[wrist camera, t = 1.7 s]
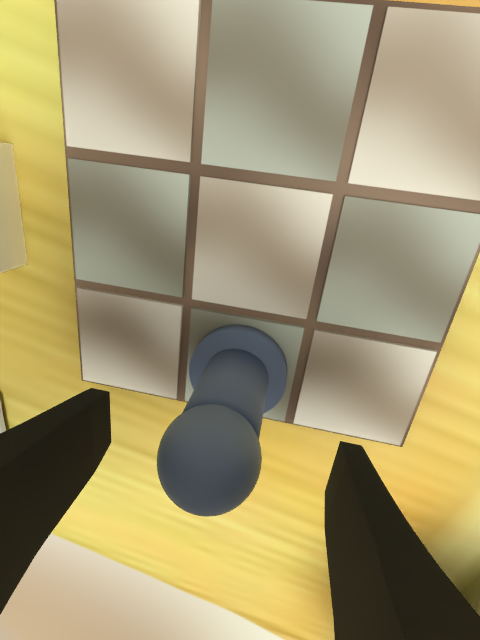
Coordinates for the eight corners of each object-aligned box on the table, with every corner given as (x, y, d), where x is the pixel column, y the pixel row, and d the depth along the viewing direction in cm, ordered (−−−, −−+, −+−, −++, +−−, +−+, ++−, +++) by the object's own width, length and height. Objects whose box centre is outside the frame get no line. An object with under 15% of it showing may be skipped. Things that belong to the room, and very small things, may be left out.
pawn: (278, 414, 16) (262, 570, 9) (191, 396, 16) (121, 534, 10) (295, 334, 14) (287, 458, 8) (197, 316, 14) (119, 421, 8)
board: (396, 431, 16) (403, 450, 15) (93, 369, 18) (79, 382, 17) (549, 28, 10) (579, 11, 9) (72, -10, 12) (48, -29, 11)
